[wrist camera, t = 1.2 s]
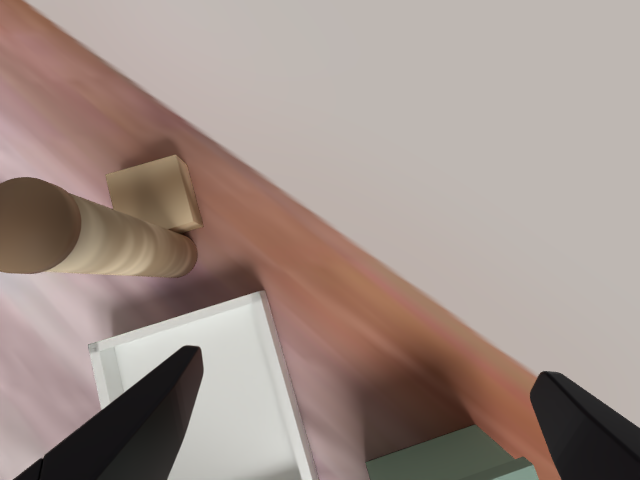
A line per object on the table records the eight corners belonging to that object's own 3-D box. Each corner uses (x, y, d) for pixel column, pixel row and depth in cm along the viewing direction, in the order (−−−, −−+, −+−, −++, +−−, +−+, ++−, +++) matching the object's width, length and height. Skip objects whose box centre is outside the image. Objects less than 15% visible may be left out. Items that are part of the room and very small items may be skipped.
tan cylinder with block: (214, 267, 24) (100, 249, 11) (147, 288, 23) (-46, 292, 11) (186, 164, 25) (55, 43, 12) (122, 183, 24) (-80, 78, 12)
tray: (319, 479, 22) (319, 505, 19) (155, 536, 21) (134, 569, 19) (265, 290, 24) (258, 291, 21) (112, 338, 23) (87, 344, 20)
